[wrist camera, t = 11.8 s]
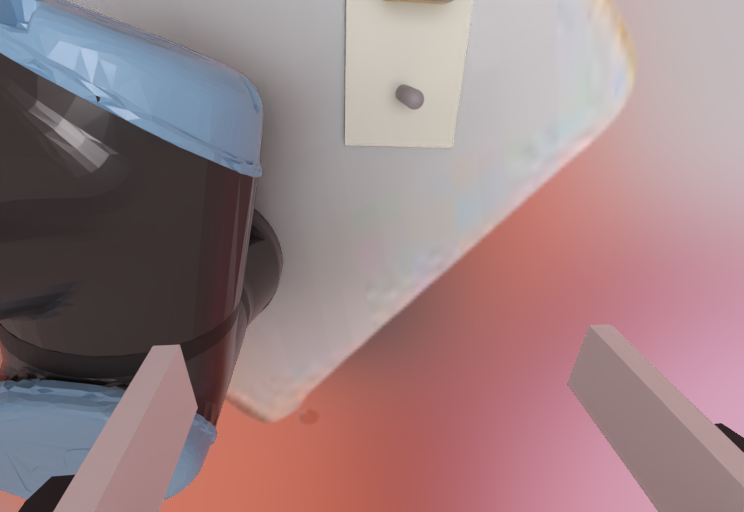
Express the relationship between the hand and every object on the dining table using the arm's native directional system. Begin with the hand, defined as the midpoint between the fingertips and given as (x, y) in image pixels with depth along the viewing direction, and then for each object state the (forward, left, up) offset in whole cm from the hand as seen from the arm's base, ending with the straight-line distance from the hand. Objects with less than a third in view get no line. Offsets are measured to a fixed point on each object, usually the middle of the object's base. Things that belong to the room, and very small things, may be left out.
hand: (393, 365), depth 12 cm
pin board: (+4, +11, -27) cm, 29 cm away
